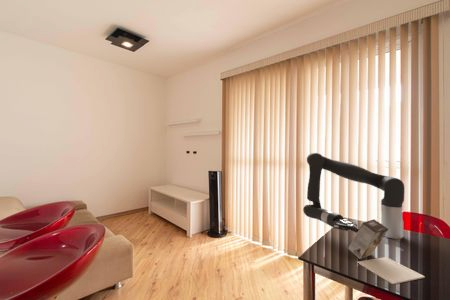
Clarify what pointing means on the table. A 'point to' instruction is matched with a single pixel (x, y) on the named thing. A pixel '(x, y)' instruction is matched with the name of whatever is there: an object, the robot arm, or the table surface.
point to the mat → (390, 270)
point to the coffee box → (367, 238)
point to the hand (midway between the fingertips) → (360, 231)
